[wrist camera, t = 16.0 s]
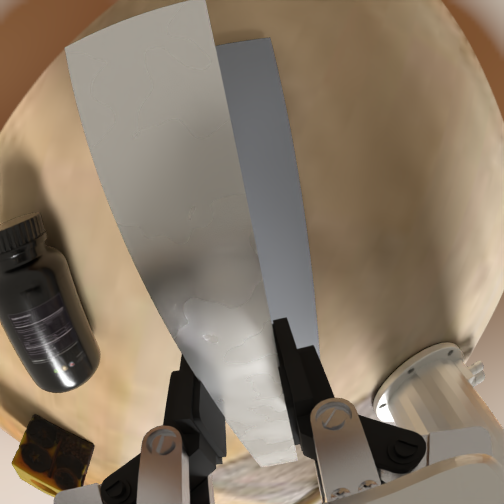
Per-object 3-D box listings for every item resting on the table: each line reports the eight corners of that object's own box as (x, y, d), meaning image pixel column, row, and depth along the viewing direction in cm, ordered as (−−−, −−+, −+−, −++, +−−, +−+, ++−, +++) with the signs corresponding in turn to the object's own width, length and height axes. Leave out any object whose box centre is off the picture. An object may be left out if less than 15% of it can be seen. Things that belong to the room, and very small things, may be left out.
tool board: (267, 43, 14) (270, 37, 13) (318, 384, 25) (322, 393, 24) (125, 77, 14) (119, 74, 13) (226, 403, 25) (226, 412, 24)
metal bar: (209, 37, 6) (204, -4, 3) (287, 413, 18) (297, 460, 15) (127, 60, 6) (64, 48, 3) (253, 419, 18) (261, 467, 15)
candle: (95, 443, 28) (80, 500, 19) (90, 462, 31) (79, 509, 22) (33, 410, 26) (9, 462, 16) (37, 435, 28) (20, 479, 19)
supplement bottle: (29, 361, 18) (-23, 231, 13) (89, 333, 22) (49, 204, 18) (42, 409, 13) (-38, 247, 9) (115, 372, 18) (60, 209, 13)
